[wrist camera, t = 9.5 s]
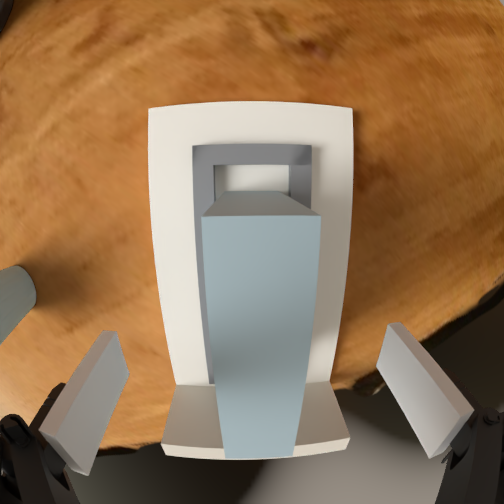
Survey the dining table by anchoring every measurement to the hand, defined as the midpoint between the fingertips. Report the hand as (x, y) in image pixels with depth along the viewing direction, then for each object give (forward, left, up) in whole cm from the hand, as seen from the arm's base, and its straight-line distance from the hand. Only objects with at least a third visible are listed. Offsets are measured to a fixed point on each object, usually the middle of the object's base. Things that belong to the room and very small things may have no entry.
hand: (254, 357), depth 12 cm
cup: (+2, -27, -12) cm, 30 cm away
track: (0, 0, -12) cm, 12 cm away
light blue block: (0, 0, -11) cm, 11 cm away
